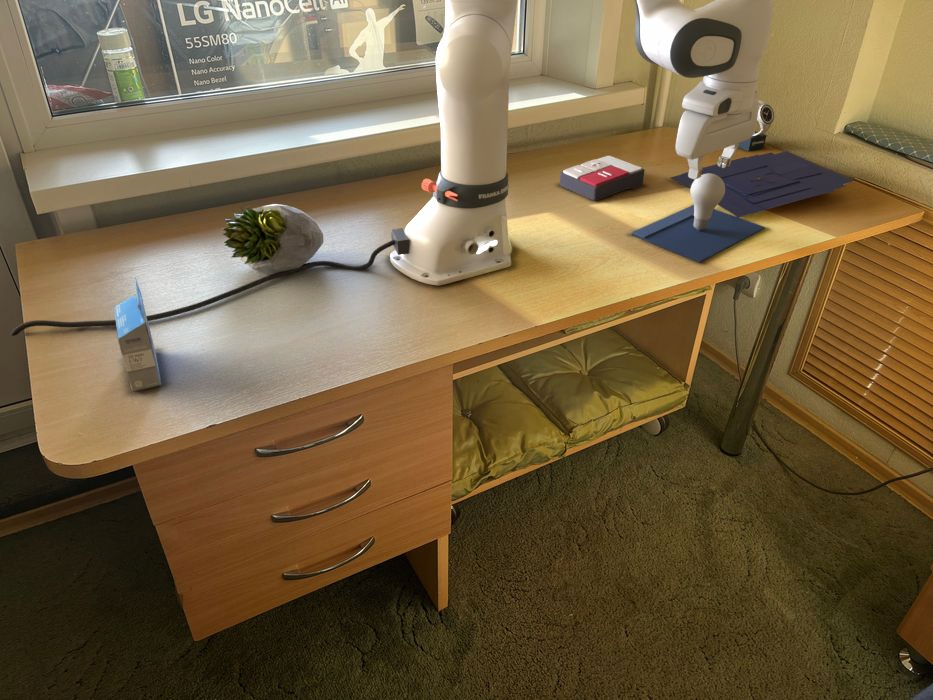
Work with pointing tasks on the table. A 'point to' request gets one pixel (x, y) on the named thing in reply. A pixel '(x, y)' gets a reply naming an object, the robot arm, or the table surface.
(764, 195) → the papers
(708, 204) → the lightbulb
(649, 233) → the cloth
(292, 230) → the potted plant
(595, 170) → the button panel
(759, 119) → the watch
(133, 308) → the label tape box
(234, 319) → the table surface
